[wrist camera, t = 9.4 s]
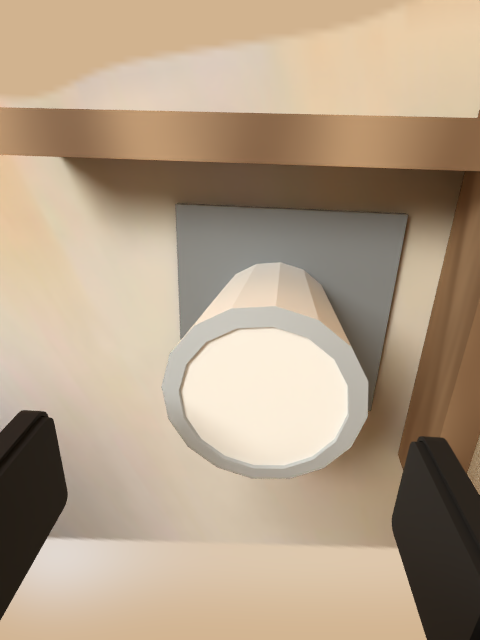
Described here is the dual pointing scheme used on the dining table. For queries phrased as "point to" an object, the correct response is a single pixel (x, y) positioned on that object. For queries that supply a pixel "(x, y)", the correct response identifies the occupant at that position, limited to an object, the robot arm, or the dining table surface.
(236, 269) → the pad
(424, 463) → the robot arm
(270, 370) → the white cup
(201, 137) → the wooden corner fence
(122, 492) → the dining table surface
